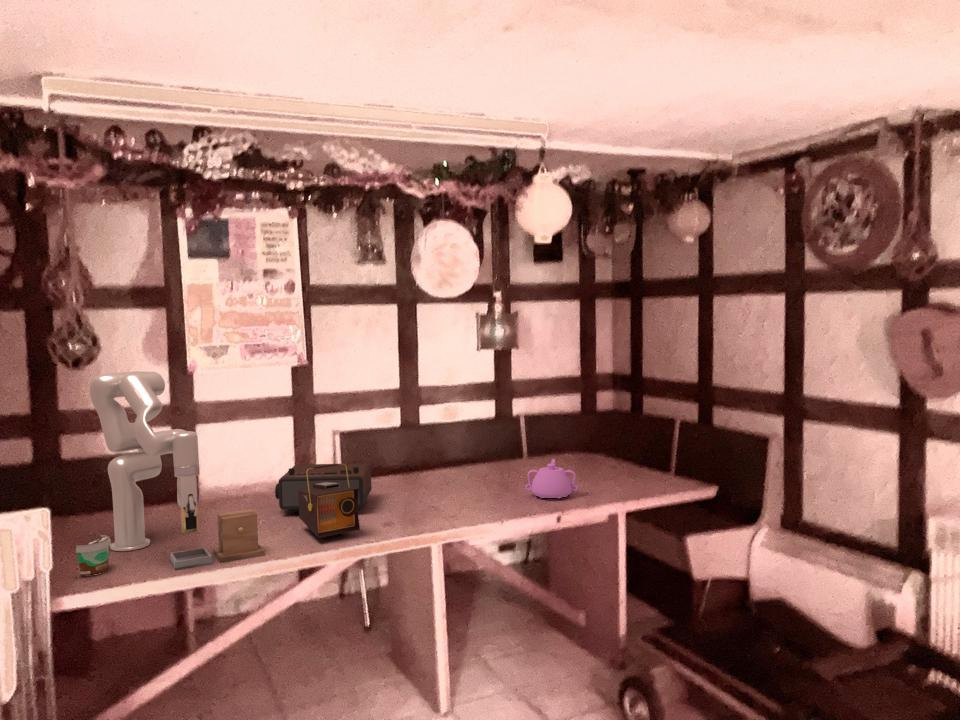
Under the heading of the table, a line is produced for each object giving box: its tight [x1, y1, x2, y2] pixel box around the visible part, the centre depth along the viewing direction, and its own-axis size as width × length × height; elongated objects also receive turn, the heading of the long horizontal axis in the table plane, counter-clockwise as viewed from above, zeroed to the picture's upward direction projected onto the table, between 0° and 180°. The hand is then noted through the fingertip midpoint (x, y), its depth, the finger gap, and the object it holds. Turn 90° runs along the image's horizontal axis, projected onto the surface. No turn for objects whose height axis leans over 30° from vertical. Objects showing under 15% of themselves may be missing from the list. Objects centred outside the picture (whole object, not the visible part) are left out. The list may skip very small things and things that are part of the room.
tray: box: [169, 547, 213, 571], centre depth 248 cm, size 11×11×2 cm
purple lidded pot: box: [525, 458, 579, 498], centre depth 326 cm, size 22×22×14 cm
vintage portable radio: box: [298, 463, 361, 539], centre depth 276 cm, size 16×23×25 cm
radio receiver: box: [274, 462, 372, 513], centre depth 314 cm, size 35×27×18 cm
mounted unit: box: [212, 508, 266, 564], centre depth 255 cm, size 12×14×14 cm
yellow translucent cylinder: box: [179, 505, 199, 534], centre depth 247 cm, size 5×5×8 cm
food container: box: [75, 534, 112, 577], centre depth 241 cm, size 12×6×10 cm, turn 170°
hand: (189, 526), depth 247 cm, fingers closed on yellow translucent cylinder, 5 cm apart
